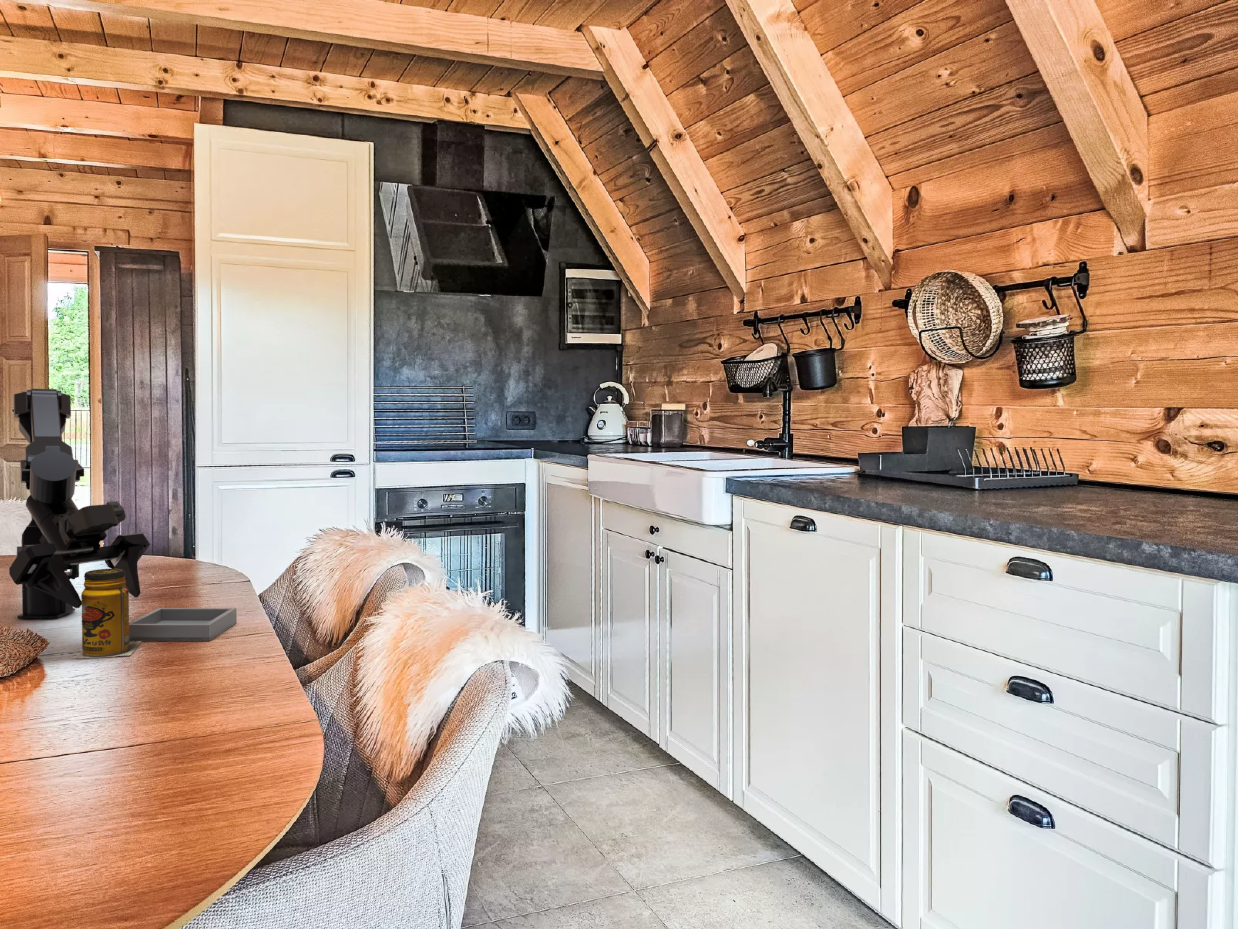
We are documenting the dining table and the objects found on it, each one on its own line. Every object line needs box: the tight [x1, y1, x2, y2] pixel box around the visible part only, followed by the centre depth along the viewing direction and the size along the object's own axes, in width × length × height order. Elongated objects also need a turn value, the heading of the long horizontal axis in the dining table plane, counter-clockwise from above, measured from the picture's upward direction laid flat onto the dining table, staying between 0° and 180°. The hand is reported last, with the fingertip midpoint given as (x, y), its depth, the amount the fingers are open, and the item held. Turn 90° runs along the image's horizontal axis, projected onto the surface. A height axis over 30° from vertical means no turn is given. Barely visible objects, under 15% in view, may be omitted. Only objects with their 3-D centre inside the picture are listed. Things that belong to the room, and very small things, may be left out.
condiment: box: [73, 568, 142, 660], centre depth 136 cm, size 7×8×12 cm
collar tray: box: [129, 607, 238, 642], centre depth 149 cm, size 13×13×2 cm
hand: (109, 600), depth 136 cm, fingers open, 9 cm apart
